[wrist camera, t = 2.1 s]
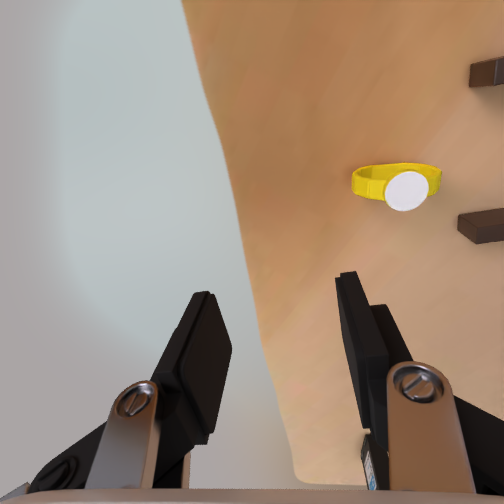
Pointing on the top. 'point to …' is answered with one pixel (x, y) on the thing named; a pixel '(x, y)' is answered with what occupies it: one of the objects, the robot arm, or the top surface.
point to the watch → (397, 183)
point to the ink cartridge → (375, 465)
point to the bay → (498, 220)
